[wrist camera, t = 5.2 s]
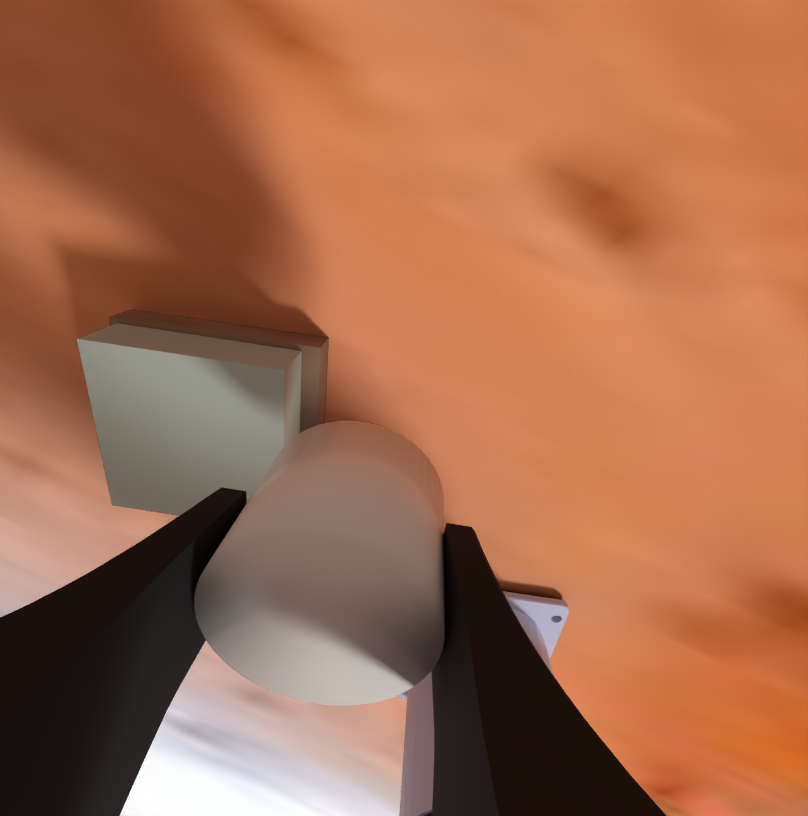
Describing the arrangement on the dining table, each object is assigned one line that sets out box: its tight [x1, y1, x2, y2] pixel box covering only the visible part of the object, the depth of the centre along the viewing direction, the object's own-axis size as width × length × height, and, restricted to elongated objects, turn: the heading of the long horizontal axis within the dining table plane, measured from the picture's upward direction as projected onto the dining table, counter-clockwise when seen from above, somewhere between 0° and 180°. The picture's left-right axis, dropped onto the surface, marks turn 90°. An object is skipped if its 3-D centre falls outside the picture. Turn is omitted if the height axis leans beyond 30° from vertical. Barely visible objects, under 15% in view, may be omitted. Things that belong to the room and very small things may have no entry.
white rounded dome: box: [194, 421, 445, 706], centre depth 10 cm, size 5×5×4 cm
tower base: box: [109, 310, 329, 433], centre depth 19 cm, size 8×8×2 cm
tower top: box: [77, 323, 302, 516], centre depth 17 cm, size 7×7×2 cm
